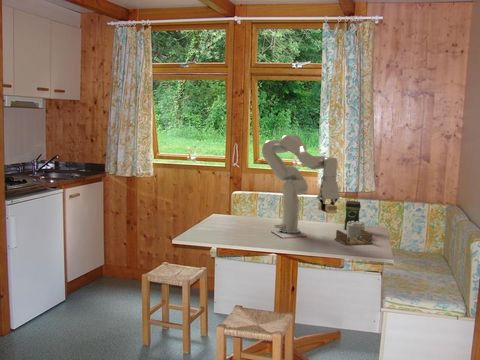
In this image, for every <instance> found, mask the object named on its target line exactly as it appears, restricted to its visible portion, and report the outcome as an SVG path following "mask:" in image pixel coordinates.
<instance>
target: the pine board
mask: <svg viewBox="0 0 480 360" xmlns="http://www.w3.org/2000/svg"><path fill="white" fill-rule="evenodd" d="M317 210H318V211H321V212H324V213H327V214H337V211H338V206H337V205H335V204H334V205H332V204H330V203H329V202H325V211H323V210H321V203H320V202H318V209H317Z"/></svg>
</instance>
